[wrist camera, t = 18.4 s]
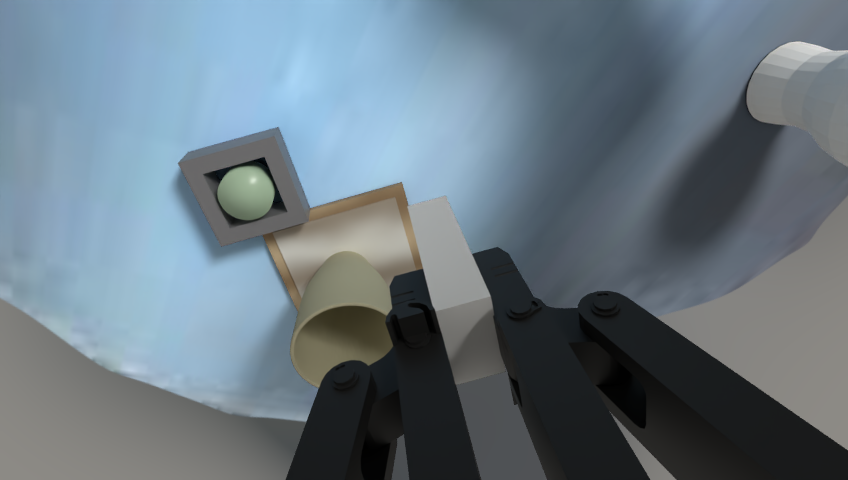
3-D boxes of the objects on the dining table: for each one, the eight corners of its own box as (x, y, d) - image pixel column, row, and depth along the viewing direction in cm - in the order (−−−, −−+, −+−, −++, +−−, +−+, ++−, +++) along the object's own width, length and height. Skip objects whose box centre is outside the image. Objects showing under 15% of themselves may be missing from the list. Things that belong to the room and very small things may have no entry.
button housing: (188, 152, 40) (177, 163, 38) (278, 126, 41) (274, 136, 38) (227, 231, 44) (221, 246, 42) (310, 208, 45) (308, 221, 42)
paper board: (259, 222, 44) (257, 226, 44) (401, 182, 45) (402, 185, 44) (316, 347, 52) (316, 352, 51) (437, 312, 53) (439, 316, 52)
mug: (314, 323, 50) (308, 411, 39) (290, 241, 45) (276, 316, 34) (416, 302, 51) (437, 383, 40) (403, 220, 46) (422, 287, 35)
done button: (215, 168, 41) (208, 179, 38) (265, 154, 41) (260, 164, 38) (237, 213, 43) (231, 226, 40) (284, 199, 43) (280, 211, 41)
